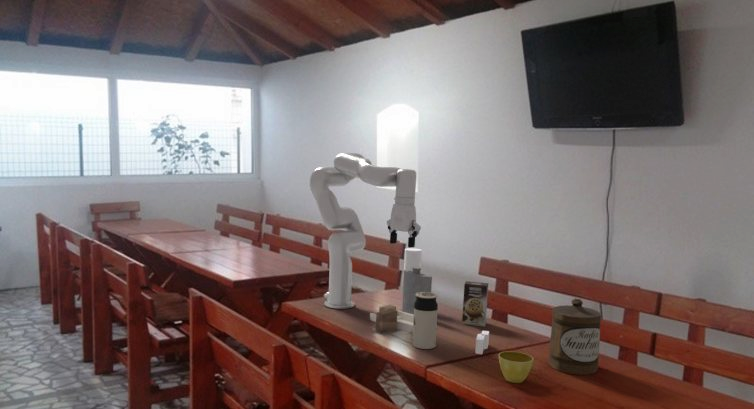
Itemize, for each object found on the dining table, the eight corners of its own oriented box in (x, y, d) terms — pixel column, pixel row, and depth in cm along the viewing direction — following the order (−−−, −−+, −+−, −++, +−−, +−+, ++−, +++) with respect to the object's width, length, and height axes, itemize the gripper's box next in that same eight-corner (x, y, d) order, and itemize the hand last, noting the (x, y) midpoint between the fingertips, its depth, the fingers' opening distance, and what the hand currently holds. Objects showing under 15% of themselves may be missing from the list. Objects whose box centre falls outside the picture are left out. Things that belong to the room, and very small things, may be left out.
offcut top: (379, 313, 243) (379, 306, 243) (389, 310, 248) (389, 304, 248) (385, 315, 241) (385, 308, 241) (395, 312, 245) (396, 306, 245)
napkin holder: (480, 358, 204) (481, 341, 203) (456, 349, 212) (457, 332, 212) (511, 351, 213) (512, 335, 212) (486, 342, 222) (487, 326, 221)
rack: (369, 320, 242) (370, 313, 242) (390, 315, 251) (390, 308, 251) (412, 333, 227) (413, 325, 227) (433, 328, 236) (433, 320, 235)
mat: (371, 332, 227) (371, 331, 227) (389, 327, 234) (389, 326, 234) (382, 335, 223) (383, 334, 223) (401, 330, 230) (401, 329, 230)
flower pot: (526, 374, 189) (528, 351, 189) (536, 386, 179) (537, 362, 178) (493, 373, 189) (495, 350, 188) (501, 385, 179) (503, 361, 178)
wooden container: (565, 376, 189) (570, 305, 187) (539, 360, 203) (544, 294, 201) (607, 373, 193) (612, 303, 191) (579, 358, 207) (583, 292, 205)
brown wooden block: (375, 331, 227) (376, 312, 226) (390, 327, 233) (391, 309, 232) (381, 333, 225) (382, 314, 224) (396, 329, 231) (397, 310, 230)
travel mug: (437, 344, 216) (440, 293, 214) (433, 350, 208) (435, 298, 207) (415, 341, 218) (417, 290, 216) (410, 348, 210) (412, 295, 209)
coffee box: (461, 324, 242) (463, 283, 241) (463, 320, 249) (465, 280, 247) (485, 326, 240) (487, 285, 239) (486, 322, 247) (488, 282, 245)
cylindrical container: (400, 308, 263) (403, 250, 261) (404, 304, 270) (407, 247, 268) (416, 310, 261) (419, 251, 259) (420, 306, 268) (423, 249, 266)
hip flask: (431, 319, 247) (433, 270, 246) (423, 321, 245) (426, 271, 243) (406, 310, 260) (408, 263, 258) (398, 312, 258) (400, 264, 256)
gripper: (382, 199, 243) (379, 242, 245) (414, 204, 230) (411, 249, 232) (395, 198, 248) (393, 241, 250) (428, 203, 236) (425, 248, 237)
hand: (402, 245), depth 241 cm, fingers open, 9 cm apart
